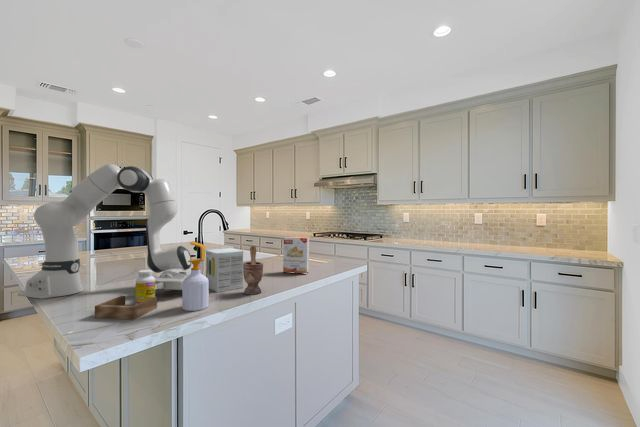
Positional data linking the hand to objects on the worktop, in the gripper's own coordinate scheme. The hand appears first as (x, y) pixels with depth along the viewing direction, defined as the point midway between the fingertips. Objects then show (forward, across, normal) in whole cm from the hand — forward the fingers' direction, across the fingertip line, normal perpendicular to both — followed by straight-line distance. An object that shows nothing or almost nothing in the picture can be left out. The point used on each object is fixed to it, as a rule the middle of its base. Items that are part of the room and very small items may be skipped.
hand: (150, 287), depth 123 cm
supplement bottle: (+3, 0, +6) cm, 7 cm away
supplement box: (-25, +20, +6) cm, 32 cm away
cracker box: (-61, +48, +6) cm, 78 cm away
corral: (+13, 0, +6) cm, 14 cm away
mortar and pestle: (-19, +35, +6) cm, 40 cm away
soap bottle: (+5, +21, +6) cm, 22 cm away
